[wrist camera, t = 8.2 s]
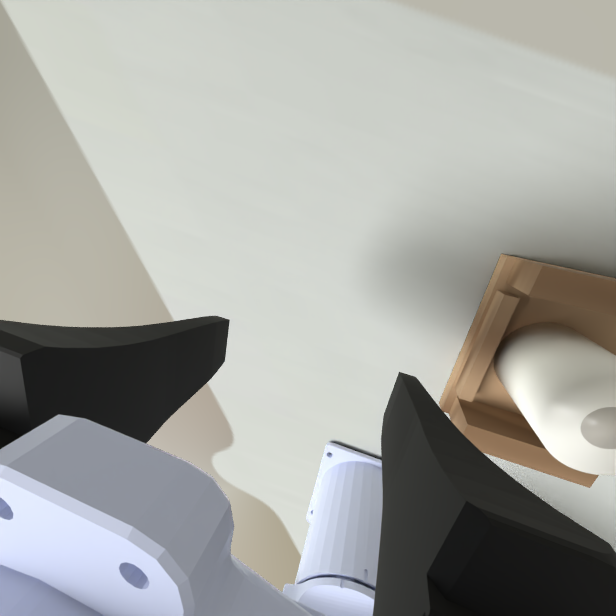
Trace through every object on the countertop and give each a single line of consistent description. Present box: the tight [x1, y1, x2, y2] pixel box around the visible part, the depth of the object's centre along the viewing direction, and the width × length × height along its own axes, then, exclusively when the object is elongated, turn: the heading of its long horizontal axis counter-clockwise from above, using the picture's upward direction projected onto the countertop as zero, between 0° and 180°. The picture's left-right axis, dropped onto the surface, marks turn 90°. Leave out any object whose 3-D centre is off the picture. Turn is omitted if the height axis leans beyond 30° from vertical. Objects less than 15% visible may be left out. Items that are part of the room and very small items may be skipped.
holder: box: [439, 254, 616, 488], centre depth 17 cm, size 11×8×4 cm
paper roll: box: [494, 323, 616, 476], centre depth 15 cm, size 5×5×6 cm
